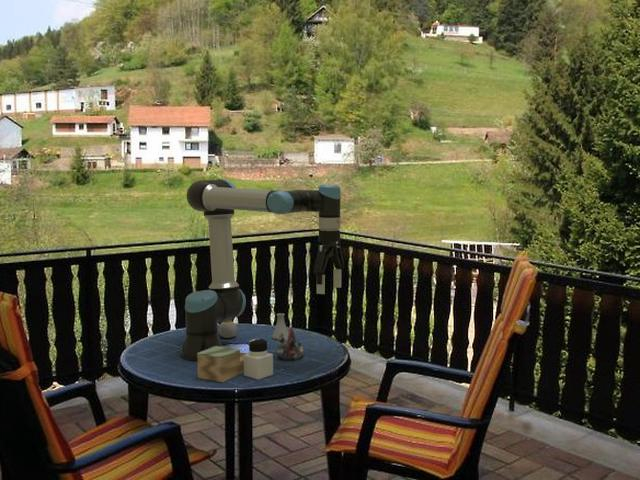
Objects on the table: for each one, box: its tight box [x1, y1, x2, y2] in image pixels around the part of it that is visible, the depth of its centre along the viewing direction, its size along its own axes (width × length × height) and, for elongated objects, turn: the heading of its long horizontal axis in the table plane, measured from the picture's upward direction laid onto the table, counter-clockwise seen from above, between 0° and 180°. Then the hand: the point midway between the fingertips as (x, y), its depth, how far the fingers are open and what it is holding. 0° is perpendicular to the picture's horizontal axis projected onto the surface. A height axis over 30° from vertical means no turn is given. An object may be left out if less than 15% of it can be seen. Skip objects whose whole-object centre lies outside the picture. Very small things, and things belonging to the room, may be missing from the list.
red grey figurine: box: [274, 327, 305, 361], centre depth 235 cm, size 11×11×12 cm
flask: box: [271, 312, 289, 340], centre depth 261 cm, size 7×7×10 cm
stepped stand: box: [196, 346, 249, 383], centre depth 217 cm, size 10×20×8 cm, turn 153°
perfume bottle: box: [218, 319, 238, 339], centre depth 263 cm, size 8×10×12 cm
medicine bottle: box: [243, 338, 274, 380], centre depth 213 cm, size 7×7×12 cm
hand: (329, 290), depth 223 cm, fingers open, 13 cm apart
